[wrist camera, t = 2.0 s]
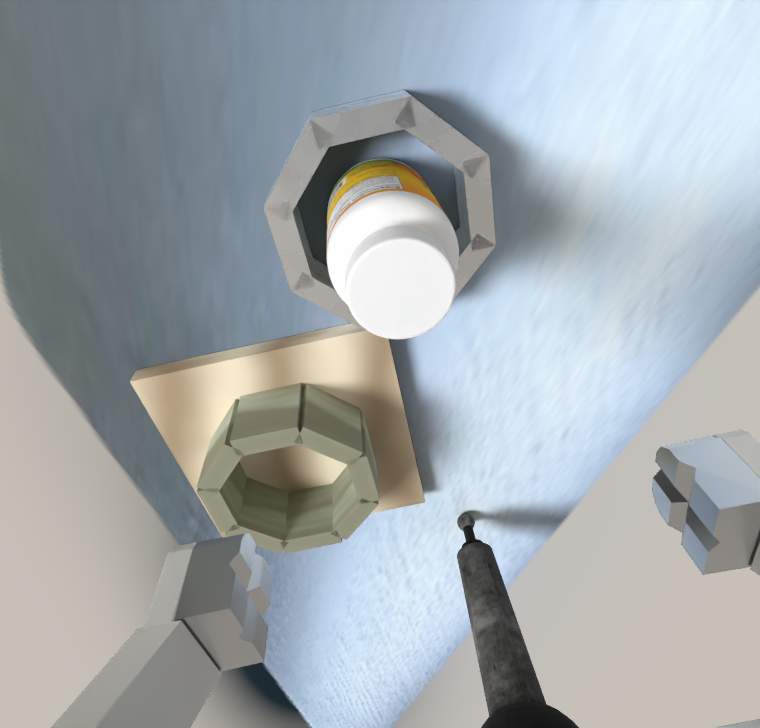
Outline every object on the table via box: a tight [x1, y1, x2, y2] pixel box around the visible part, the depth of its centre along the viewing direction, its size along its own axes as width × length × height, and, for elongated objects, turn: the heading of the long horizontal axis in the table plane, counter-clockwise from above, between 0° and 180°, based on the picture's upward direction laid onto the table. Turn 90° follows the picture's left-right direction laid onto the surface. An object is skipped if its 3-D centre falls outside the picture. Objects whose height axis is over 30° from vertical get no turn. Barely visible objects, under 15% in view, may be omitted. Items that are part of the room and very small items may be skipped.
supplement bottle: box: [327, 158, 459, 339], centre depth 22 cm, size 5×5×10 cm
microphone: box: [457, 514, 579, 728], centre depth 32 cm, size 7×7×20 cm
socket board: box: [130, 323, 425, 553], centre depth 32 cm, size 15×15×5 cm
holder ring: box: [264, 90, 496, 330], centre depth 25 cm, size 10×10×2 cm
